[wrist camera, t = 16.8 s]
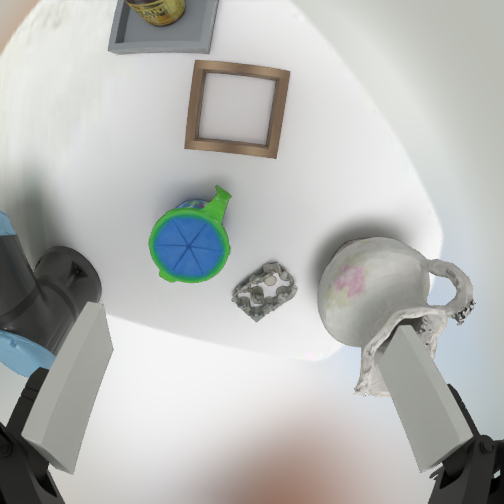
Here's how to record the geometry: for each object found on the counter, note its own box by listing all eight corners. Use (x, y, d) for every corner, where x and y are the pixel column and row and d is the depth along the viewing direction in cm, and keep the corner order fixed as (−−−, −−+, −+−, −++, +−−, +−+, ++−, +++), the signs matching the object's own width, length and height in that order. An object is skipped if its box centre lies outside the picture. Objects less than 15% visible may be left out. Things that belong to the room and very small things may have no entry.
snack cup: (204, 161, 42) (195, 177, 33) (255, 206, 46) (260, 234, 37) (144, 232, 47) (124, 263, 38) (192, 270, 50) (183, 306, 41)
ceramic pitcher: (343, 189, 46) (411, 262, 24) (428, 229, 48) (506, 305, 26) (293, 293, 55) (308, 403, 33) (375, 317, 58) (414, 412, 35)
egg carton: (273, 255, 50) (276, 267, 47) (298, 281, 53) (302, 294, 49) (228, 289, 53) (228, 302, 49) (254, 312, 56) (255, 326, 52)
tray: (118, 54, 33) (107, 50, 29) (134, -21, 26) (126, -30, 23) (209, 53, 34) (206, 48, 31) (223, -24, 28) (222, -35, 24)
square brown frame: (189, 145, 40) (184, 148, 37) (198, 64, 35) (195, 60, 31) (272, 154, 42) (276, 158, 38) (285, 74, 36) (290, 71, 33)
